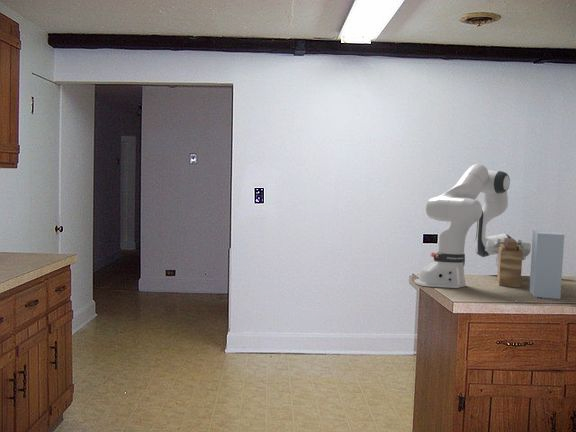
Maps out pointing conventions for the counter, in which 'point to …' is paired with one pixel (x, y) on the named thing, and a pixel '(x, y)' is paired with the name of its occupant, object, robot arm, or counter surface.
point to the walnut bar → (510, 244)
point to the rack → (509, 267)
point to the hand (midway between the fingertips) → (509, 240)
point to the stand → (546, 264)
